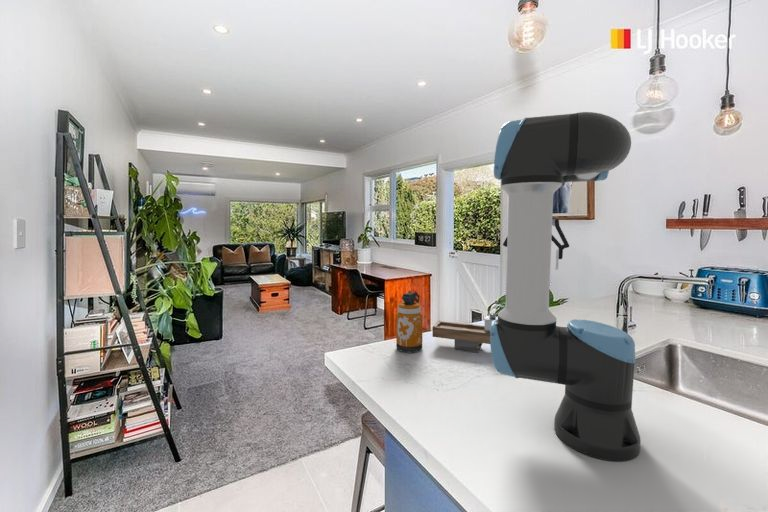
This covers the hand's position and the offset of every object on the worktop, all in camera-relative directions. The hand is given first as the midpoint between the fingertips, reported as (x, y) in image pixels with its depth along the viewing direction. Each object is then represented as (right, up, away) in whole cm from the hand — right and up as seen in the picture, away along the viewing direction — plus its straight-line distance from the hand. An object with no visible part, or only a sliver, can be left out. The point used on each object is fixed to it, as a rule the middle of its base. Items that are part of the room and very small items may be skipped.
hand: (534, 268), depth 121 cm
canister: (-41, -28, +5) cm, 50 cm away
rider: (-14, -22, 0) cm, 26 cm away
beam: (-22, -28, +3) cm, 35 cm away
